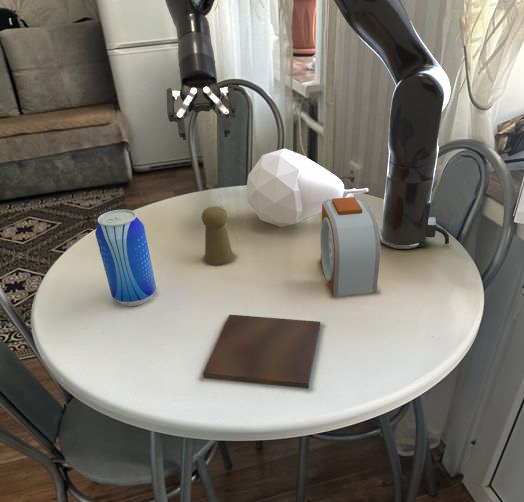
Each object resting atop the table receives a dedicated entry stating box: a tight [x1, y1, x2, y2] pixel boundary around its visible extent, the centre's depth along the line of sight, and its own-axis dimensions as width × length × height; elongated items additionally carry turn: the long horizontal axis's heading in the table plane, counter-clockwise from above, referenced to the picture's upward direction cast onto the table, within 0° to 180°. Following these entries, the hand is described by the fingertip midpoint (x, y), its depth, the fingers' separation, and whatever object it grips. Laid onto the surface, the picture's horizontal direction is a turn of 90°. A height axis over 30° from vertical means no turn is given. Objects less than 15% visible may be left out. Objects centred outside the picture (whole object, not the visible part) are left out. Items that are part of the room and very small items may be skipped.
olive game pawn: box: [201, 206, 234, 266], centre depth 104 cm, size 6×6×11 cm
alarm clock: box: [319, 196, 381, 298], centre depth 95 cm, size 15×8×14 cm, turn 5°
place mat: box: [202, 314, 321, 389], centre depth 81 cm, size 16×16×1 cm
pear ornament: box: [246, 147, 369, 228], centre depth 117 cm, size 16×22×28 cm
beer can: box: [94, 209, 157, 307], centre depth 91 cm, size 8×8×16 cm
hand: (205, 136), depth 103 cm, fingers open, 8 cm apart
